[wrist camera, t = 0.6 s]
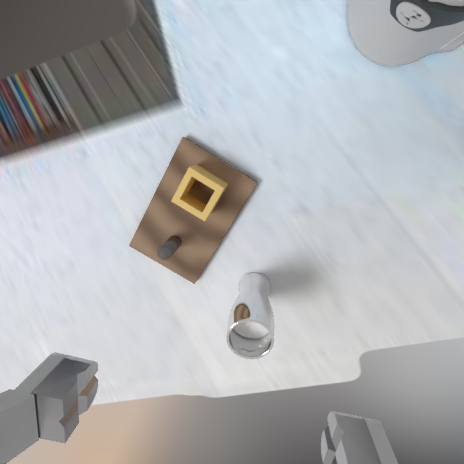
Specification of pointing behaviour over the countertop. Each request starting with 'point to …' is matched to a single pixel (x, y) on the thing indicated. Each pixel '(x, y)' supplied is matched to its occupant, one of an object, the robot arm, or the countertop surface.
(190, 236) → the base plate
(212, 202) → the sleeve
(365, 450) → the robot arm
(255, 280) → the beer glass
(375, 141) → the countertop surface
